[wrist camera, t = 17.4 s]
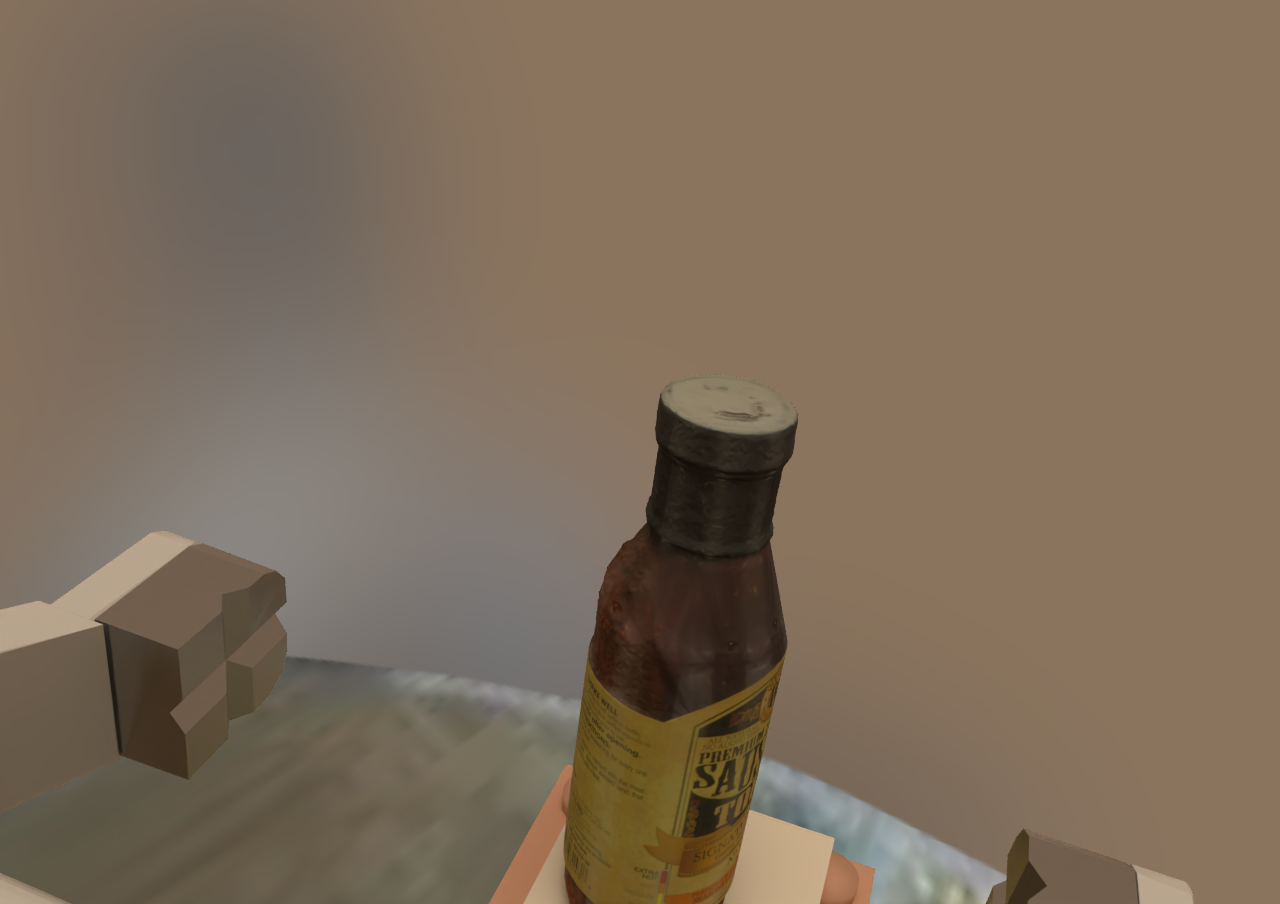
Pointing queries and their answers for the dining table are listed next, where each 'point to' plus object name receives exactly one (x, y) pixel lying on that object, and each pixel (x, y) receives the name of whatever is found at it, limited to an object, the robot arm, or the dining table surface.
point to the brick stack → (764, 876)
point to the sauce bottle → (684, 658)
